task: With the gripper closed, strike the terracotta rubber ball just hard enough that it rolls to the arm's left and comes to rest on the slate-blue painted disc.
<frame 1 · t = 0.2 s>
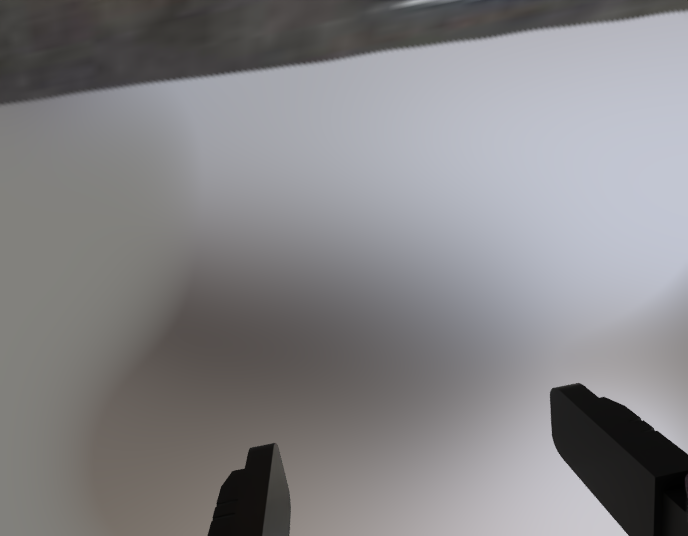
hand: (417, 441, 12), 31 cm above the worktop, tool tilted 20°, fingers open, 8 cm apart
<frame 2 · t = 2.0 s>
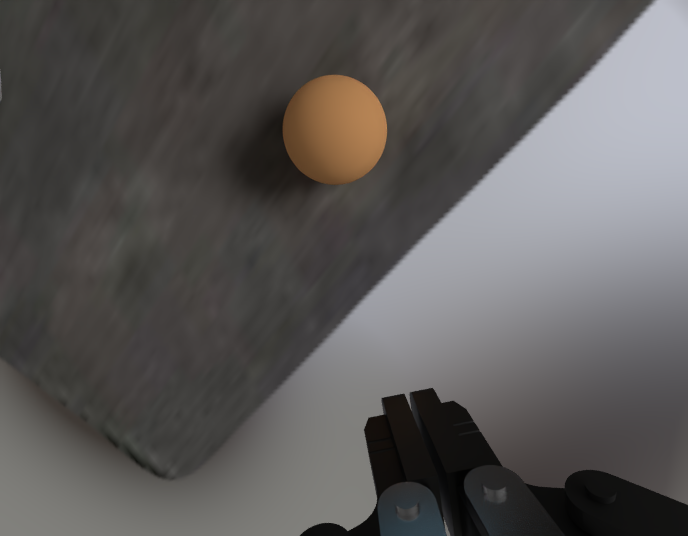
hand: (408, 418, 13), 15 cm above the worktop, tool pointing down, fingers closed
ball: (334, 131, 22), on the worktop
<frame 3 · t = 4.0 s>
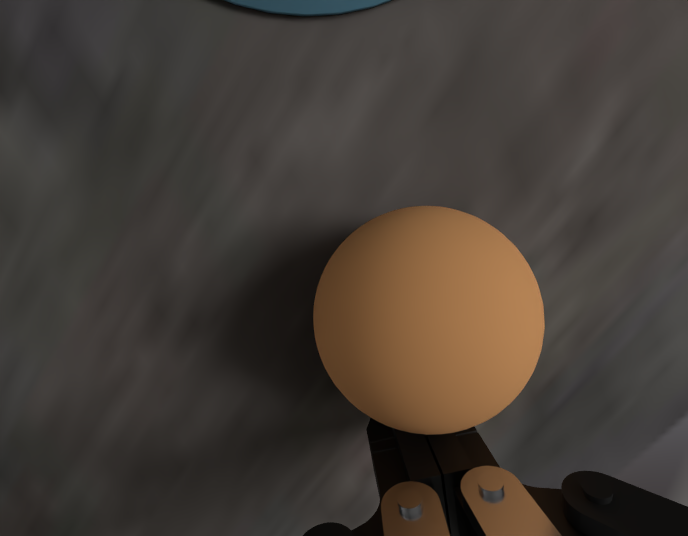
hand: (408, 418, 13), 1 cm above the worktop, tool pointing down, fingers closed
ball: (422, 316, 11), on the worktop, touching gripper
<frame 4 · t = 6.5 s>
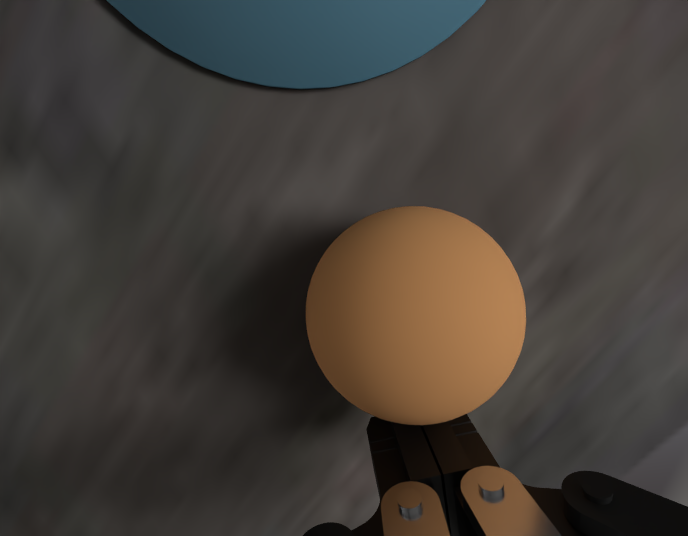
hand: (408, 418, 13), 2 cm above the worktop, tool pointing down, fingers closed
ball: (411, 312, 11), on the worktop, touching gripper
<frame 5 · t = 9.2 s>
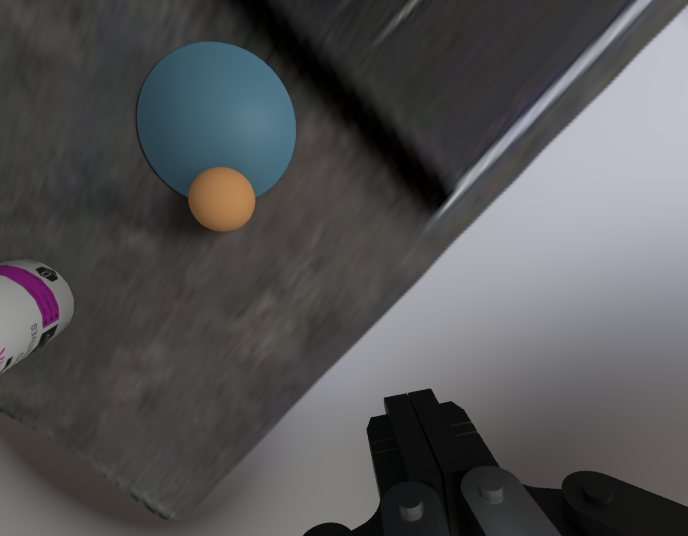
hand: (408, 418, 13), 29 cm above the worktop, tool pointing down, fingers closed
ball: (222, 199, 36), on the worktop
supplement can: (34, 297, 40), on the worktop
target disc: (218, 127, 37), on the worktop
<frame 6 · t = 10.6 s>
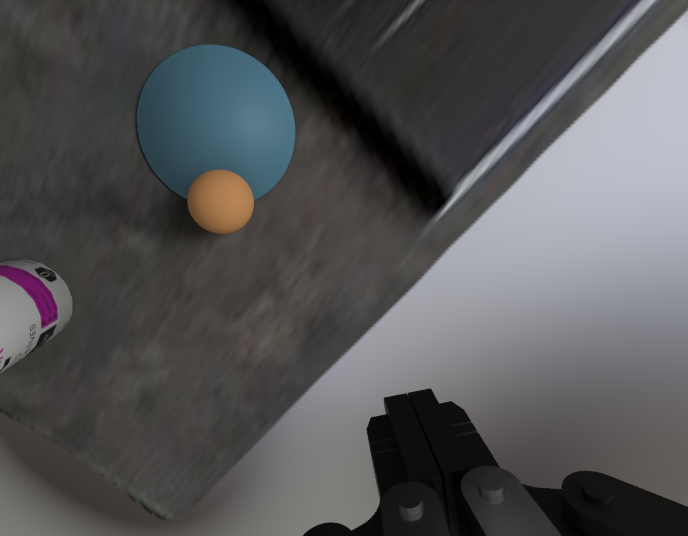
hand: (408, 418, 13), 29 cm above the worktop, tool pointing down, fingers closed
ball: (221, 201, 36), on the worktop
supplement can: (33, 298, 40), on the worktop
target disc: (217, 130, 37), on the worktop
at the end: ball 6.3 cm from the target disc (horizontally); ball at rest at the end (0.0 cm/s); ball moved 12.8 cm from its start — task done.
